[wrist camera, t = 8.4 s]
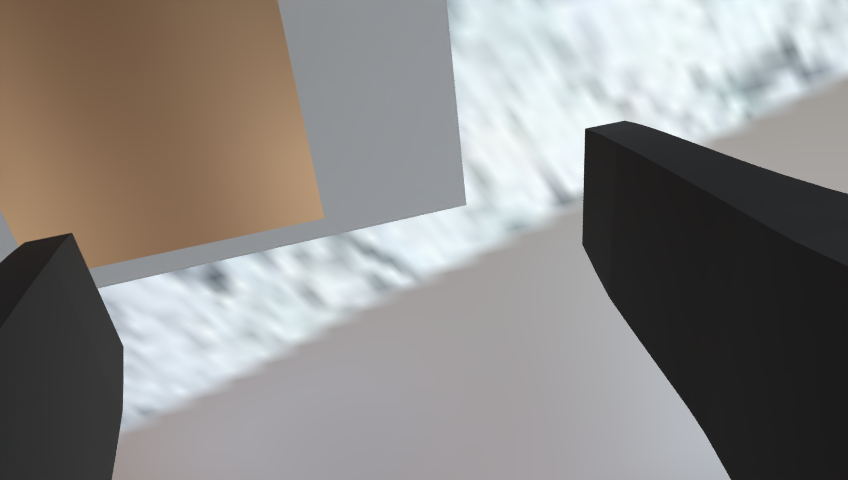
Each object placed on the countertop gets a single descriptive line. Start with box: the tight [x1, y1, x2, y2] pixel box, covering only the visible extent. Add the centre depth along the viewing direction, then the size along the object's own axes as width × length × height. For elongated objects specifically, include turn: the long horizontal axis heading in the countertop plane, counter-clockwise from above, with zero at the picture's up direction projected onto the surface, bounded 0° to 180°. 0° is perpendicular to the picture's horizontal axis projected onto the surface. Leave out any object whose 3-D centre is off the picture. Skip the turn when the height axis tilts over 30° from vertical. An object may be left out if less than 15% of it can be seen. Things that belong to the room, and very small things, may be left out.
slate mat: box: [0, 0, 466, 288], centre depth 17 cm, size 13×13×1 cm
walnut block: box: [0, 0, 324, 269], centre depth 14 cm, size 5×5×6 cm
